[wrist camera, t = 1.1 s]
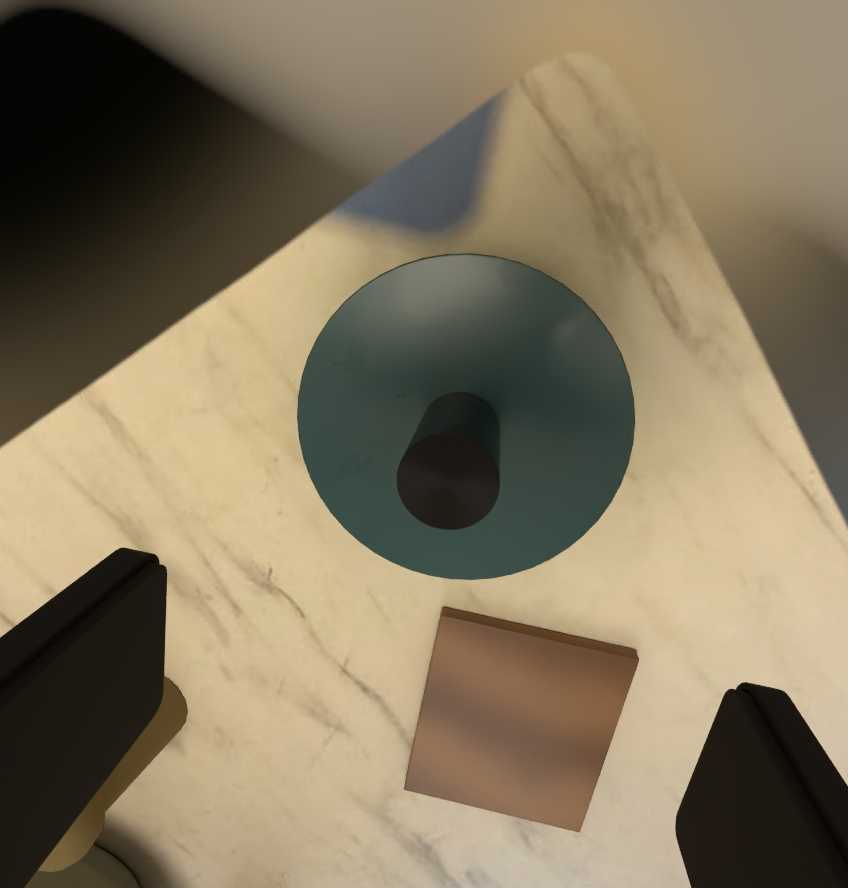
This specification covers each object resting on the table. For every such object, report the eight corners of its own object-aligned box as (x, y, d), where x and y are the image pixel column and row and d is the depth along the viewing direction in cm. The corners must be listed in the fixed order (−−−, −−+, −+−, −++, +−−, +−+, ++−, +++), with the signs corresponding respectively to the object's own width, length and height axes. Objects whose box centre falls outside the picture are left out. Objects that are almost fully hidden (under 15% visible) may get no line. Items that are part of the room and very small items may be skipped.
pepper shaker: (139, 748, 44) (25, 903, 33) (90, 685, 42) (-45, 824, 32) (203, 722, 42) (105, 875, 32) (154, 655, 41) (35, 791, 30)
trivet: (442, 606, 37) (441, 615, 36) (635, 649, 36) (639, 660, 35) (405, 777, 41) (403, 790, 40) (577, 819, 40) (579, 832, 40)
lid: (243, 378, 26) (151, 421, 19) (511, 178, 22) (516, 141, 15) (423, 615, 28) (398, 729, 21) (691, 468, 24) (764, 549, 18)
